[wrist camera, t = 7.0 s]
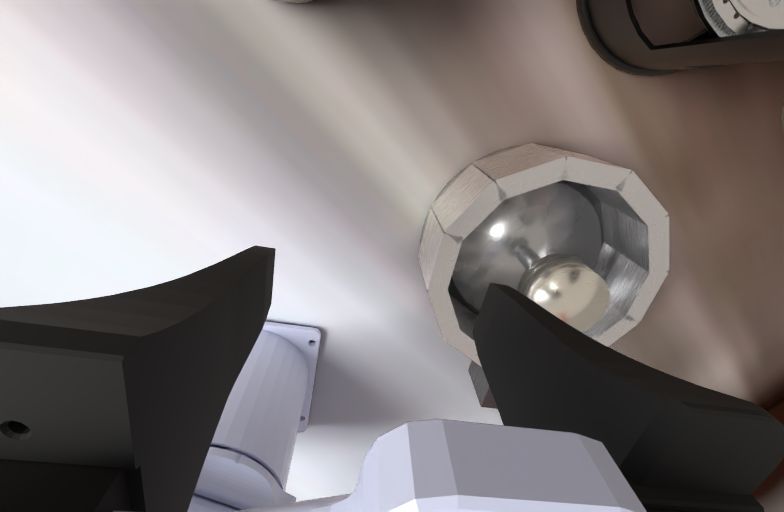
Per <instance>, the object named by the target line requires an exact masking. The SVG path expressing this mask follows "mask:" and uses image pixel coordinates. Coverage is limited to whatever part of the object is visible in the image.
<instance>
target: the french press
mask: <svg viewBox="0 0 784 512" xmlns="http://www.w3.org/2000/svg"><path fill="white" fill-rule="evenodd" d="M691 2H692V5H693V8H694V10H695V13H696V15H697V17H698V19H699V20H700V22H701V24H702V25H703V27H704V28H705V29H704V30H703V31H701V32H700V33H698V34H696V35H695V36H693V37H691V38H689V39H688V40H686V41H683V42H680V43H673V44H665V45H658V46H654V45H653V44H652V43H651V42H650V41H649V39H648V38H647V37H646V36H645V34H644V33H643V32H642V30H641V28H640V26H639V24H638V22H637V20H636V17H635V15H634V13H633V9H632V4H631V0H576V4H577V12H578V16H579V19H580V22H581V26H582V29H583V32H584V33H585V35H586V37H587V39H588V41H589V43H590V45H591V47H592V48H593V49H594V50H595V51H596V52H597V53H598V54H599V55H600V57H601V58H602V59H603V60H605V61H606V62H608V63H609V64H611V65H612V66H614V67H615V68H617V69H619V70H622V71H625V72H628V73H631V74H636V75H649V76H653V75H660V74H667V73H673V72H676V71H678V70H681V69H699V68H708V67H715V66H722V65H725V64H743V63H761V62H780V61H784V0H691Z"/></svg>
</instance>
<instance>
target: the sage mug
mask: <svg viewBox="0 0 784 512" xmlns="http://www.w3.org/2000/svg"><path fill="white" fill-rule="evenodd" d="M781 122H782V129H783V133H784V103H783V108H782V117H781Z"/></svg>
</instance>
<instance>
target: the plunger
mask: <svg viewBox="0 0 784 512" xmlns="http://www.w3.org/2000/svg"><path fill="white" fill-rule="evenodd" d="M600 247H601V227H600V222H599V219H598V216H597V214H596V212H595V210H594V208H593V206H592V205H591V204H590V202H589V201H588V200H587V199H586V198H585V197H584V196H583V195H582V194H581V193H579V192H578V191H576V190H575V189H573V188H571V187H569V186H567V185H565V184H563V183H561V182H555V183H552V184H549V185H546V186H543V187H540V188H537V189H534V190H531V191H528V192H525V193H522V194H519V195H516V196H513V197H510V198H507V199H504V200H503V201H502V202H501V203H500V204H499V205H498V206H497V207H496V208H495V209H494V210H493V211H492V212H491V213H490V214H489V215H488V216H487V217H486V218H485V219H484V220H483V221H482V222H481V223H480V224H479V225H478V226H477V227H476V228H475V229H474V230H473V231H472V232H471V233H470V234H469V235H468V236H467V237H466V238H465V239H464V240H463V241H462V244H461V247H460V250H459V254H458V257H457V260H456V263H455V267H454V270H453V273H452V277H453V280H454V282H455V285H456V287H457V289H458V290H459V292H460V294H461V295H462V296H463V297H464V299H465V300H466V301H467V302H468V303H470V304H471V305H472V306H473V307H475V308H476V309H478V310H480V309H481V306H482V303H483V301H484V298H485V295H486V292H487V289H488V287H489V284H490V283H496V284H503V285H508V286H510V287H512V288H514V289H515V290H517V291H519V292H520V293H522V294H523V295H525V296H527V297H528V298H530V299H531V300H532V301H534V302H535V303H537V304H538V305H540V306H541V307H543V308H544V309H546V310H547V311H549V312H550V313H552V314H553V315H555V316H556V317H558V318H559V319H561V320H562V321H564V322H565V323H567V324H569V325H570V326H572V327H574V328H575V329H577V330H578V331H580V332H583V331H585V330H587V329H589V328H590V327H592V326H593V325H594V324H595V323H596V322H597V321H598V320H599V319H600V318H601V317H602V316H603V314H604V313H605V311H606V309H607V307H608V304H609V299H610V293H609V288H608V285H607V284H606V282H605V281H604V280H603V279H602V278H601V277H600V276H599V275H598V274H596V273H595V272H594V271H593V268H594V267H595V264H596V262H597V259H598V256H599V252H600Z"/></svg>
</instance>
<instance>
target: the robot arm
mask: <svg viewBox="0 0 784 512" xmlns="http://www.w3.org/2000/svg"><path fill="white" fill-rule="evenodd" d="M274 261H275V249H274V248H267V247H261V246H253V247H251V248H248V249H246V250H244V251H242V252H240V253H238V254H236V255H234V256H231V257H229V258H227V259H225V260H223V261H221V262H218V263H216V264H214V265H212V266H209V267H207V268H204V269H202V270H199V271H197V272H194V273H192V274H189V275H187V276H184V277H181V278H178V279H175V280H172V281H169V282H165V283H162V284H158V285H155V286H151V287H147V288H143V289H138V290H134V291H129V292H124V293H120V294H115V295H110V296H104V297H98V298H92V299H85V300H78V301H70V302H62V303H53V304H42V305H29V306H16V307H4V308H0V512H764V509H763V507H762V506H761V505H760V504H759V503H758V501H757V500H756V499H755V498H754V497H753V496H752V495H751V493H752V492H753V491H754V490H755V489H756V488H757V487H758V486H759V485H760V484H761V483H762V482H763V481H764V479H766V477H767V476H768V475H769V474H770V473H771V472H772V471H773V470H774V469H775V468H776V467H777V466H778V464H779V463H780V462H781V461H782V459H783V458H784V426H783V424H781V423H780V422H779V421H778V420H777V419H775V418H774V417H773V416H772V415H771V414H769V413H768V412H767V411H766V410H765V409H763V408H762V407H760V406H758V405H756V404H754V403H752V402H749V401H746V400H742V399H739V398H736V397H733V396H730V395H727V394H723V393H720V392H717V391H714V390H711V389H707V388H704V387H701V386H698V385H696V384H693V383H690V382H688V381H685V380H682V379H679V378H677V377H674V376H671V375H669V374H666V373H664V372H661V371H659V370H656V369H654V368H652V367H649V366H647V365H645V364H643V363H640V362H638V361H636V360H634V359H631V358H629V357H627V356H625V355H623V354H621V353H619V352H617V351H615V350H613V349H611V348H609V347H607V346H605V345H603V344H601V343H599V342H598V341H596V340H594V339H592V338H590V337H589V336H587V335H585V334H583V333H582V332H580V331H578V330H577V329H575V328H574V327H572V326H570V325H569V324H567V323H565V322H564V321H562V320H561V319H559V318H558V317H556V316H555V315H553V314H552V313H550V312H549V311H547V310H546V309H544V308H543V307H541V306H540V305H538V304H537V303H535V302H534V301H532V300H531V299H530V298H528V297H527V296H525V295H523V294H522V293H520V292H519V291H517V290H515V289H514V288H512V287H510V286H508V285H503V284H496V283H490V284H489V287H488V289H487V292H486V295H485V298H484V301H483V303H482V306H481V309H480V312H479V315H478V317H477V320H476V323H475V326H474V329H473V336H474V341H475V346H476V350H477V354H478V358H479V360H480V363H481V366H482V369H483V371H484V374H485V377H486V379H487V382H488V384H489V387H490V389H491V392H492V395H493V397H494V400H495V402H496V405H497V408H498V410H499V413H500V416H501V419H502V422H503V425H504V426H503V425H493V424H483V423H474V422H464V421H454V420H444V419H433V420H422V421H410V422H407V423H405V424H403V425H401V426H399V427H397V428H395V429H393V430H391V431H389V432H387V433H385V434H383V435H382V436H380V437H378V438H377V440H376V441H375V443H374V444H373V446H372V447H371V449H370V450H369V452H368V453H367V455H366V456H365V458H364V460H363V464H362V468H361V472H360V475H359V479H358V483H357V485H356V487H355V490H354V492H353V493H352V494H346V495H339V496H332V497H326V498H319V499H312V500H306V501H299V502H296V498H295V497H294V496H292V495H290V494H288V493H286V492H285V488H286V483H287V478H288V473H289V469H290V464H291V459H292V454H293V450H294V445H295V440H296V435H297V432H303V431H305V430H306V429H307V425H308V418H309V412H310V405H311V398H312V392H313V385H314V378H315V372H316V365H317V358H318V352H319V345H320V338H321V332H320V331H319V330H318V329H316V328H311V327H304V326H296V325H288V324H281V323H273V322H265V320H266V318H267V315H268V311H269V308H270V305H271V299H272V287H273V274H274ZM310 340H314V341H315V342H314V343H312V342H310ZM301 416H304V417H301Z"/></svg>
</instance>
